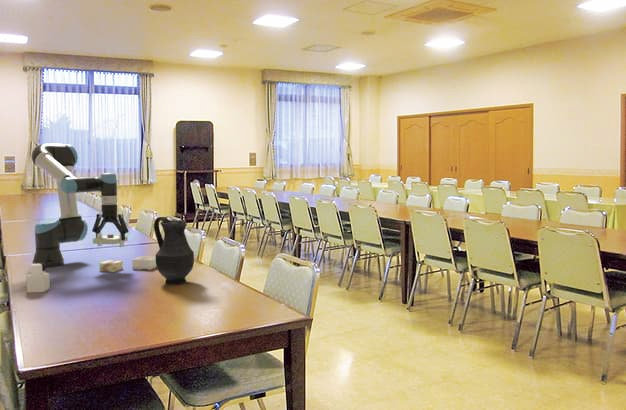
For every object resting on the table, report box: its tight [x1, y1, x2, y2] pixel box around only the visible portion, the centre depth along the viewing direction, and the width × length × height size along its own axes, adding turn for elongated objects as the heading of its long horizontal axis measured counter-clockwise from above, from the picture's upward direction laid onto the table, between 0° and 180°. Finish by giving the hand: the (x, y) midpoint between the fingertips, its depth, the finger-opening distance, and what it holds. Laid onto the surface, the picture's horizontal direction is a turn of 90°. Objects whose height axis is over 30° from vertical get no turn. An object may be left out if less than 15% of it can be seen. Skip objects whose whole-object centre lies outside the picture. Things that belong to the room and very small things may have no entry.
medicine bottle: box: [25, 262, 51, 294], centre depth 250 cm, size 7×7×12 cm
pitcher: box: [153, 216, 195, 286], centre depth 267 cm, size 17×21×30 cm
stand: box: [99, 259, 124, 273], centre depth 295 cm, size 8×8×4 cm
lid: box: [92, 233, 129, 246], centre depth 294 cm, size 12×12×4 cm
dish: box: [131, 255, 157, 271], centre depth 301 cm, size 10×10×5 cm
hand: (110, 246), depth 294 cm, fingers closed on lid, 12 cm apart
